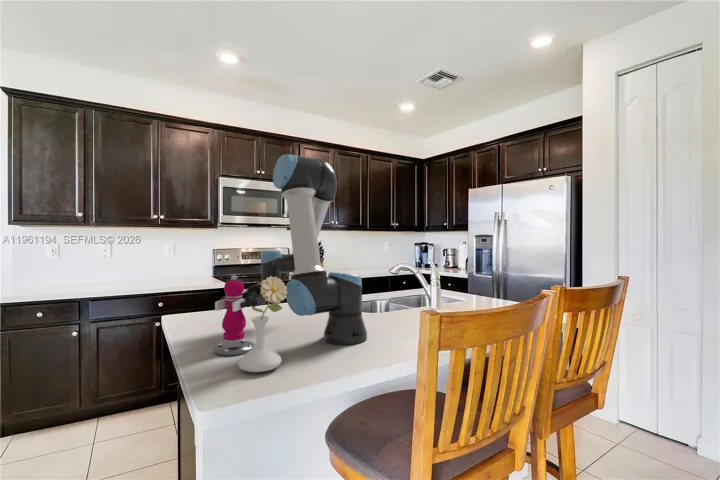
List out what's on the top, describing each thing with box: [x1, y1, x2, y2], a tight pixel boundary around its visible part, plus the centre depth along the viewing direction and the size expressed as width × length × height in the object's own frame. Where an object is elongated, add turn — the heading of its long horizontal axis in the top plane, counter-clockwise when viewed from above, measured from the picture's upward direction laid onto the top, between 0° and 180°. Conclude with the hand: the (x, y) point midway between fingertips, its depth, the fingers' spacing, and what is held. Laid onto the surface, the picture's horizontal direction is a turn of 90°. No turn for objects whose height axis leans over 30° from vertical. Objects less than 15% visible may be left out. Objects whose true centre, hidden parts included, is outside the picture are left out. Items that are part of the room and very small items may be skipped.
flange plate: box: [213, 339, 255, 357], centre depth 113 cm, size 12×12×2 cm
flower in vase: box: [237, 276, 287, 373], centre depth 97 cm, size 13×11×25 cm
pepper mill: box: [221, 274, 247, 342], centre depth 113 cm, size 7×7×20 cm
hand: (224, 306), depth 107 cm, fingers closed on pepper mill, 5 cm apart
